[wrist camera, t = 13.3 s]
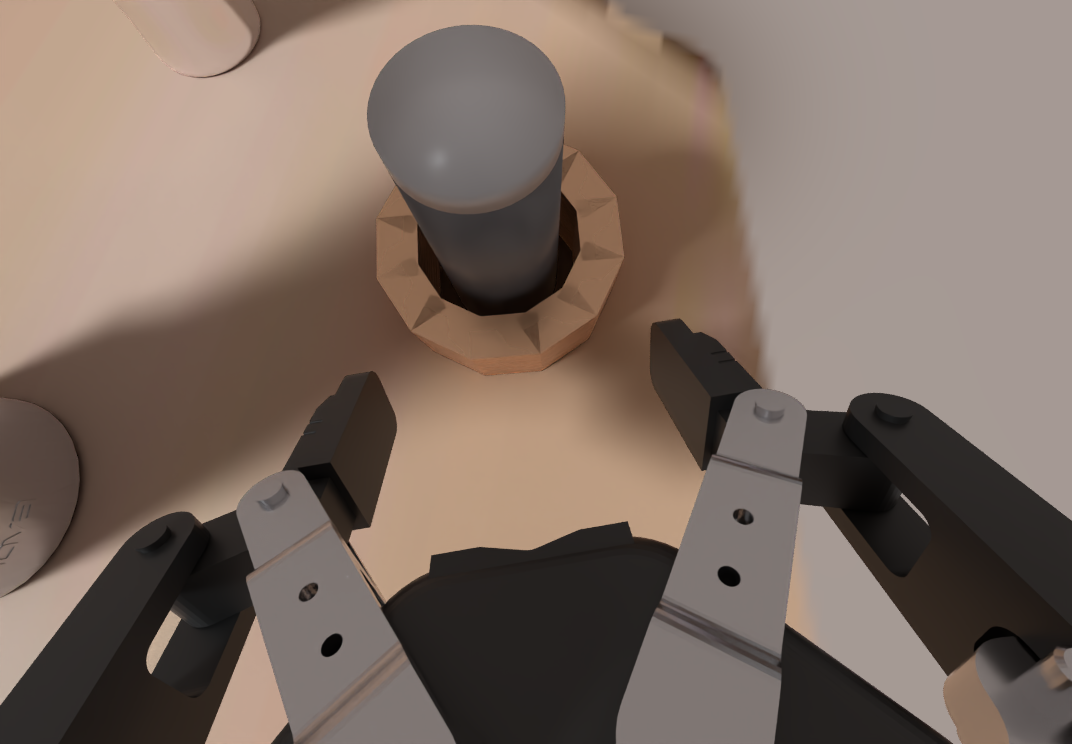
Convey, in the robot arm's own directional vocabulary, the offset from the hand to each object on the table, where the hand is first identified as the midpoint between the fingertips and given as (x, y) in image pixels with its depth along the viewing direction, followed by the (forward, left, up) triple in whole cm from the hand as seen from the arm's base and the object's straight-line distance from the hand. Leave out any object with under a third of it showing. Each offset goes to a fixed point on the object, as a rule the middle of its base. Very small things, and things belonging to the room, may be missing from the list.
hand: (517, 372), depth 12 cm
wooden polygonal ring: (-4, +5, -7) cm, 10 cm away
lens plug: (-4, +5, -7) cm, 9 cm away
